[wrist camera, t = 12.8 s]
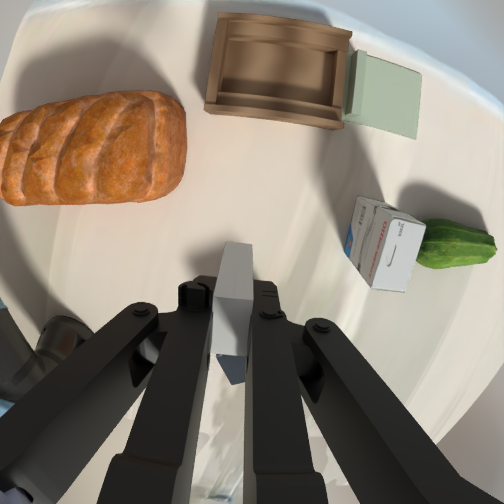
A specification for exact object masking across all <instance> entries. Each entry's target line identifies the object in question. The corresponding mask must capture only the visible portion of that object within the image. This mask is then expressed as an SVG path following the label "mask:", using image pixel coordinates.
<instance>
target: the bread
mask: <svg viewBox="0 0 504 504" xmlns="http://www.w3.org/2000/svg"><path fill="white" fill-rule="evenodd" d="M186 153H187V132H186V112H185V111H184V109H183V108H182V106H181V105H180V104H179V103H178V102H177V101H175V100H174V99H173V98H171V97H169V96H167V95H165V94H163V93H160V92H155V91H119V92H110V93H107V94H102V95H92V96H83V97H80V98H77V99H72V100H68V101H64V102H55V103H48V104H45V105H42V106H39V107H37V108H35V109H33V110H28V111H23V112H18V113H15V114H13V115H11V116H9V117H7V118H5V119H3V120H2V122H1V123H0V198H1V199H4V200H5V201H6V202H7V203H9V204H11V205H13V206H29V205H38V204H42V205H85V204H114V203H125V202H138V203H140V202H146V201H151V200H156V199H158V198H161V197H164V196H166V195H167V194H169V193H170V192H171V191H173V190H174V189H175V188H176V187H177V186H178V184H179V183H180V181H181V179H182V177H183V174H184V168H185V162H186Z"/></svg>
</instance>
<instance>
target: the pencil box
mask: <svg viewBox="0 0 504 504" xmlns="http://www.w3.org/2000/svg"><path fill="white" fill-rule="evenodd" d="M351 37H352V31H348V30H344V29H340V28H336V27H332V26H327V25H323V24H318V23H313V22H308V21H302V20H296V19H289V18H282V17H275V16H266V15H255V14H242V13H220V12H218V21H217V27H216V32H215V38H214V44H213V51H212V57H211V64H210V70H209V77H208V85H207V92H206V100H205V104H204V110H205V111H206V112H208V113H209V114H215V115H229V116H240V117H250V118H259V119H267V120H275V121H282V122H289V123H296V124H302V125H308V126H314V127H319V128H325V129H330V130H336V129H342V128H343V127H344V122H341V118H342V102H343V92H344V83H345V72H346V60H347V52H348V45H349V39H350V38H351Z"/></svg>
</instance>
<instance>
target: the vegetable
mask: <svg viewBox="0 0 504 504" xmlns="http://www.w3.org/2000/svg"><path fill="white" fill-rule="evenodd" d="M422 223H424V224H425V225H426V228H425V232H424V235H423V239H422V242H421V245H420V249H419V252H418V255H417V258H416V261H417V262H418V263H419V264H421V265H423V266H425V267H429V268H433V269H443V268H449V267H455V266H467V265H473V264H481V263H486V262H487V261H488V260H489V259H490V258H492V257H493V256H494V255H495V254H496V253H495V252H496V251H497V248H496V246H495V243H494V237H493V236H491V235H489V234H488V233H487V232H486V231H483V230H477V229H472V228H468V227H465V226H463V225H460V224H458V223H455V222H452V221H449V220H444V219H429V220H426V221H423V222H422Z"/></svg>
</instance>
